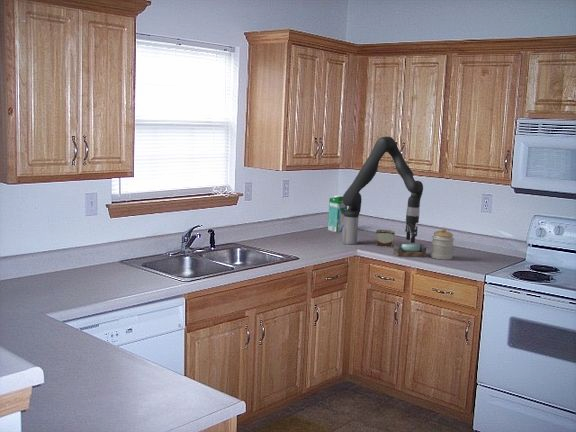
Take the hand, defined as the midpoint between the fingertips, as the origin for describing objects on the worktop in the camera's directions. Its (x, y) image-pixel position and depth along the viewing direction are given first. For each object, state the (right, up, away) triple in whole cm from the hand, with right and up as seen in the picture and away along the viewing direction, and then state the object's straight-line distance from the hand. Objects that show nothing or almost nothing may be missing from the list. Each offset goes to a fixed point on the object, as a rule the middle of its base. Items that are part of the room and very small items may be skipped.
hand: (410, 241), depth 396 cm
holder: (0, -8, +1) cm, 8 cm away
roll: (0, -4, 0) cm, 4 cm away
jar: (+18, -10, -1) cm, 21 cm away
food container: (-12, -4, +25) cm, 28 cm away
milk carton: (-39, +4, +70) cm, 80 cm away
